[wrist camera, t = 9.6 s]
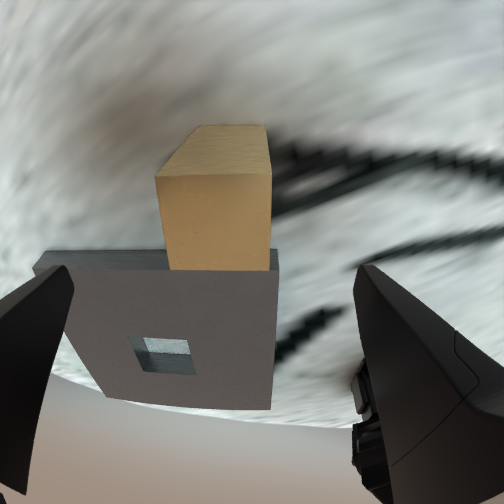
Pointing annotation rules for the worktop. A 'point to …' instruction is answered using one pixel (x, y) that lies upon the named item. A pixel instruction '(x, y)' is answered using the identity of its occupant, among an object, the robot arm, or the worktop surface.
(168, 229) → the brass peg
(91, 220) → the worktop surface
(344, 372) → the worktop surface
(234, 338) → the post plate
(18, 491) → the robot arm
